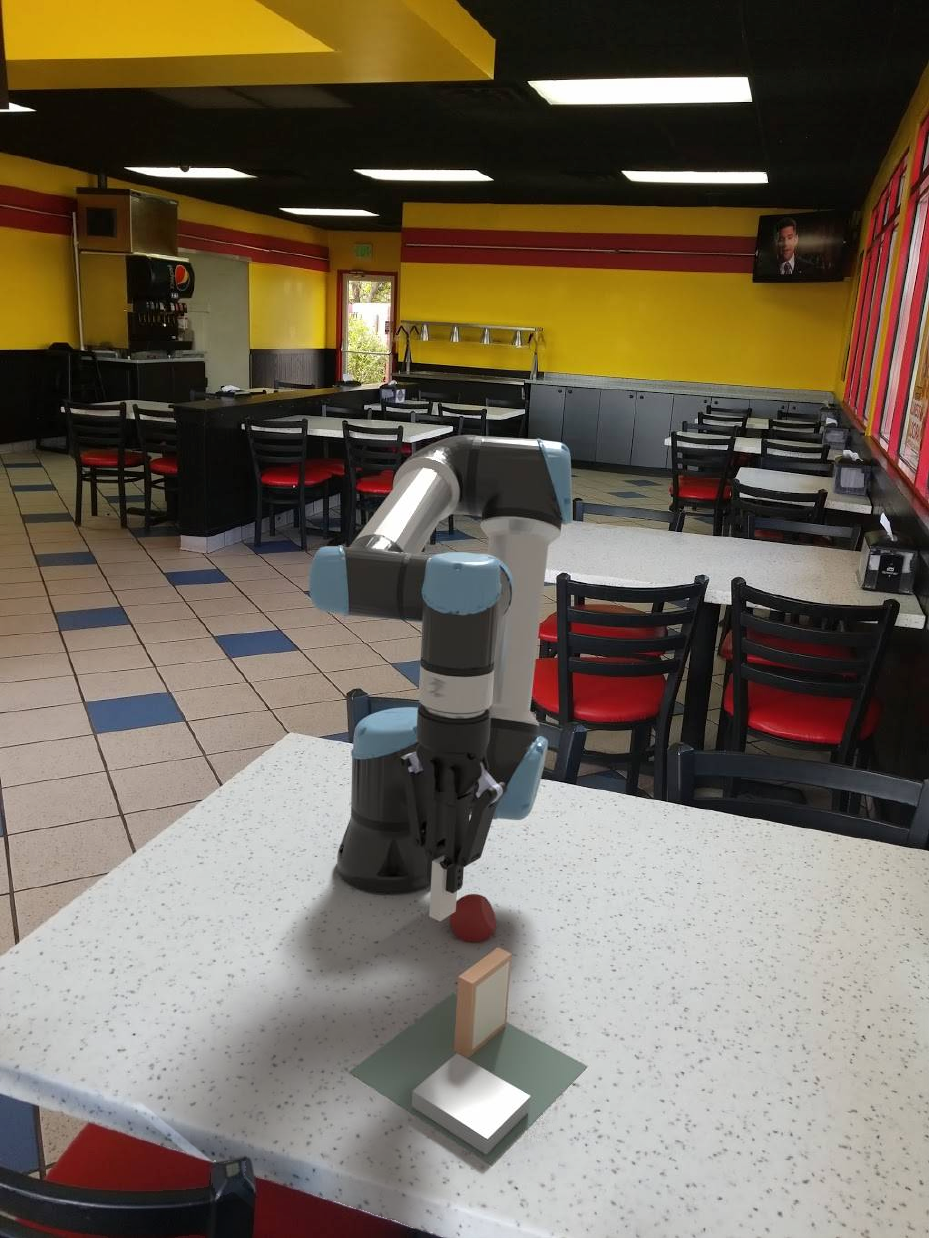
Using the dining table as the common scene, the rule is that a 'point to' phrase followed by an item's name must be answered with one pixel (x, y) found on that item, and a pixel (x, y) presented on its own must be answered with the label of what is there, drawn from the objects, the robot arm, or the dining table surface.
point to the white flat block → (471, 1102)
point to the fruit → (473, 919)
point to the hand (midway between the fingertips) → (442, 913)
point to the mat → (502, 1056)
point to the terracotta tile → (482, 1002)
